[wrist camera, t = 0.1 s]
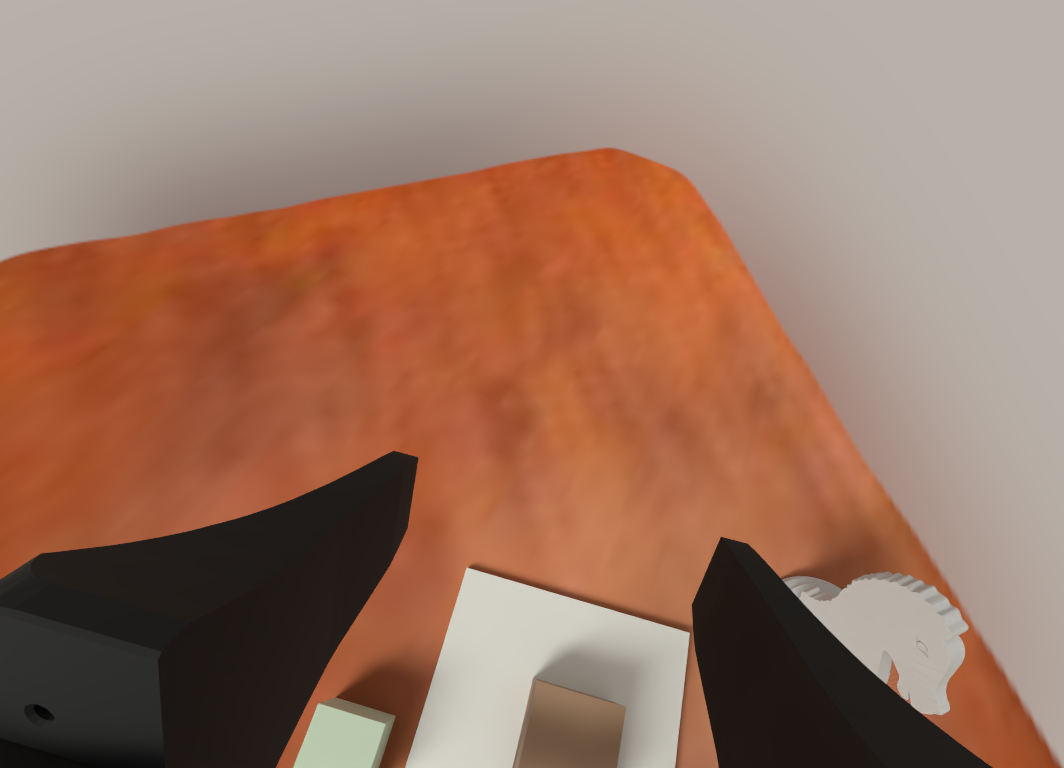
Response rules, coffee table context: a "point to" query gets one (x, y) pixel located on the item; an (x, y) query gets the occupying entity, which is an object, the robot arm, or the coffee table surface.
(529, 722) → the walnut block
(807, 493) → the coffee table surface
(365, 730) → the sage block
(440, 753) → the baseplate
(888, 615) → the chess piece
